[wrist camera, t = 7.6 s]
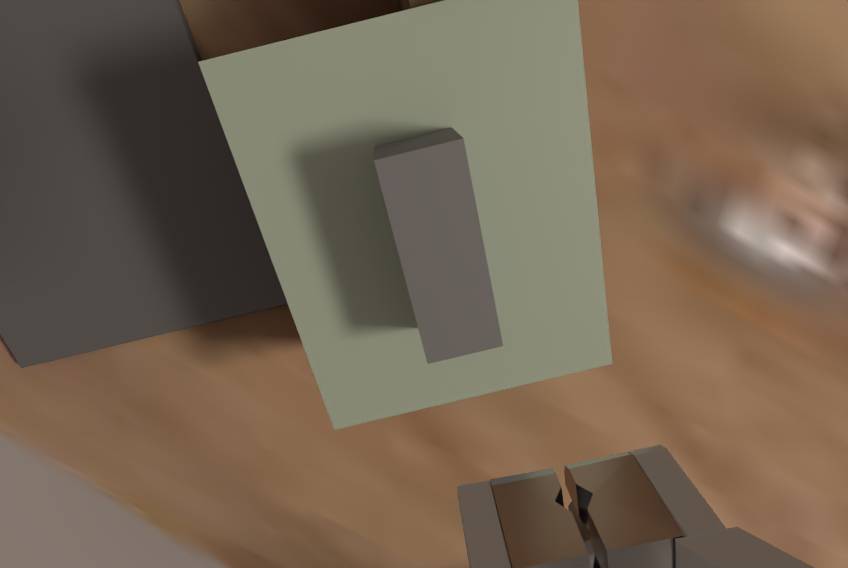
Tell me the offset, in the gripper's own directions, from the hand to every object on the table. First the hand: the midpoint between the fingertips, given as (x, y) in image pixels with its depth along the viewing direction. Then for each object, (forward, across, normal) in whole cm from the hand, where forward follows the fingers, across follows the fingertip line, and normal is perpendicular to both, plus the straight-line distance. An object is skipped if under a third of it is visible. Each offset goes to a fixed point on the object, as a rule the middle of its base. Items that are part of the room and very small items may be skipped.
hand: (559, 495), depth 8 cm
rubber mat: (+22, +18, -5) cm, 29 cm away
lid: (+16, +1, 0) cm, 17 cm away
